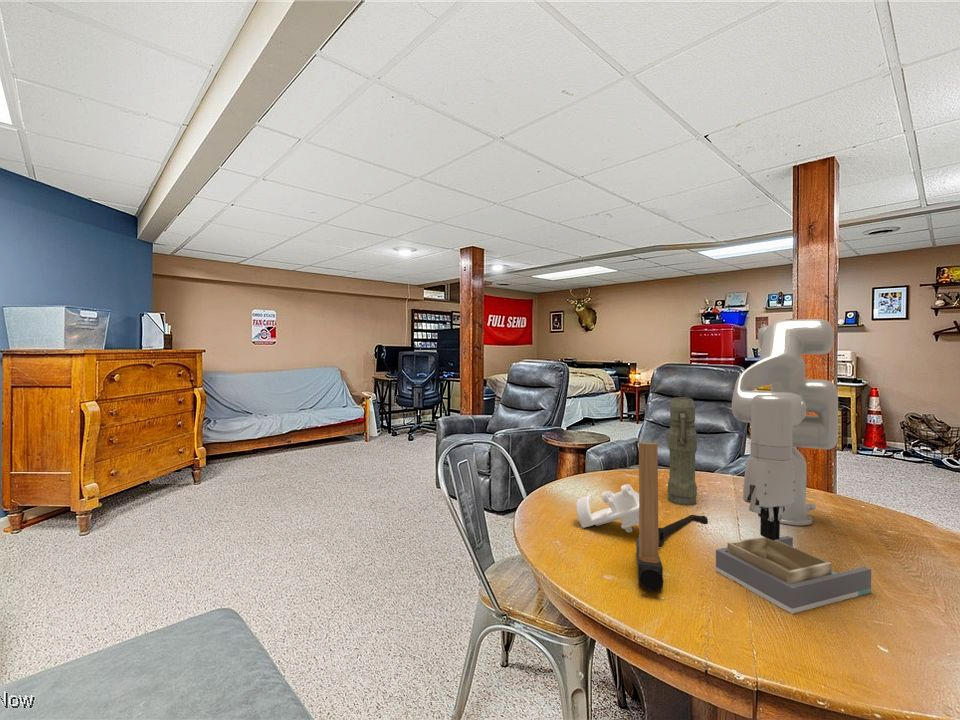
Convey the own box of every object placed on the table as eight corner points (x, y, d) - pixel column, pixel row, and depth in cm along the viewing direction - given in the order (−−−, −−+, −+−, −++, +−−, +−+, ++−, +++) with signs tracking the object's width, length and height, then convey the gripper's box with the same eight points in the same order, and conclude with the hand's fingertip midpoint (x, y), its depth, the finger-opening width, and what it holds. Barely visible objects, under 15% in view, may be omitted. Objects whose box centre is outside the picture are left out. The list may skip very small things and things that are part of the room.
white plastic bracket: (588, 548, 128) (569, 503, 131) (603, 534, 137) (584, 493, 140) (654, 530, 117) (630, 482, 120) (664, 517, 127) (643, 472, 130)
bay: (787, 555, 112) (788, 535, 112) (870, 592, 95) (871, 569, 95) (715, 570, 104) (715, 549, 104) (791, 613, 87) (792, 588, 87)
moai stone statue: (693, 496, 157) (694, 396, 156) (699, 508, 146) (700, 399, 145) (666, 494, 159) (666, 395, 159) (669, 505, 148) (670, 399, 147)
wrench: (709, 529, 133) (666, 555, 112) (691, 526, 137) (647, 549, 116) (708, 511, 134) (666, 533, 113) (691, 508, 137) (646, 529, 116)
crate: (766, 559, 107) (766, 535, 107) (831, 590, 93) (831, 563, 93) (727, 567, 103) (727, 542, 103) (789, 601, 90) (789, 572, 89)
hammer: (636, 563, 113) (635, 441, 117) (657, 566, 111) (656, 442, 116) (638, 589, 94) (637, 442, 99) (664, 592, 92) (662, 444, 97)
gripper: (779, 446, 103) (778, 527, 103) (729, 450, 98) (728, 535, 98) (813, 453, 96) (812, 540, 96) (760, 458, 91) (759, 549, 91)
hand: (769, 537), depth 97 cm, fingers closed
